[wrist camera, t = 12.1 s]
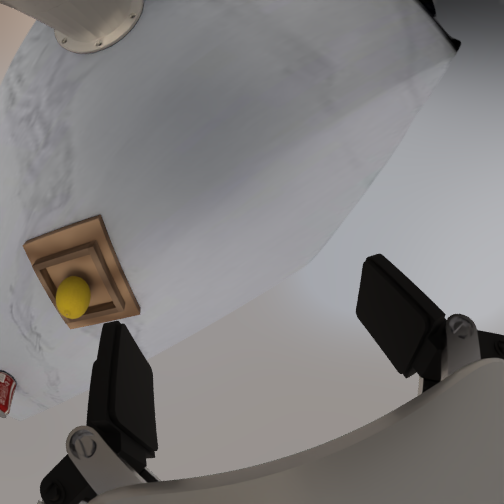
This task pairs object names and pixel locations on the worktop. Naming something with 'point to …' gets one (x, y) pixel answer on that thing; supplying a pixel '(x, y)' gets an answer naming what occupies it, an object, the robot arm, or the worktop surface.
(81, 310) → the lemon
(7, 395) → the soda can
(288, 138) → the worktop surface
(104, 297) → the board
